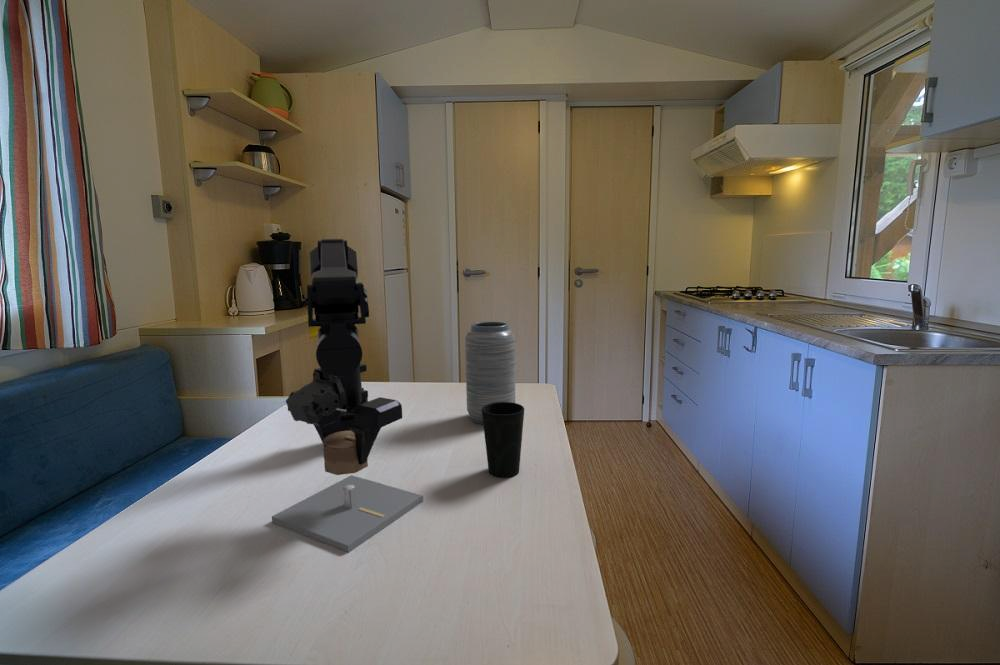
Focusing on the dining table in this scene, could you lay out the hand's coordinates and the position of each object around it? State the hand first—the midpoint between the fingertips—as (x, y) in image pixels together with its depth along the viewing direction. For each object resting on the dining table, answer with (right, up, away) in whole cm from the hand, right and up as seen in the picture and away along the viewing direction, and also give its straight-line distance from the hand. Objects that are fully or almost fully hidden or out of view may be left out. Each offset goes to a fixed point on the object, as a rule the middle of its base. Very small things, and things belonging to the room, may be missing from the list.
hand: (346, 459), depth 78 cm
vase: (+21, -1, +44) cm, 49 cm away
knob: (0, -1, 0) cm, 1 cm away
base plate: (0, -8, +1) cm, 9 cm away
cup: (+24, -6, +15) cm, 29 cm away
